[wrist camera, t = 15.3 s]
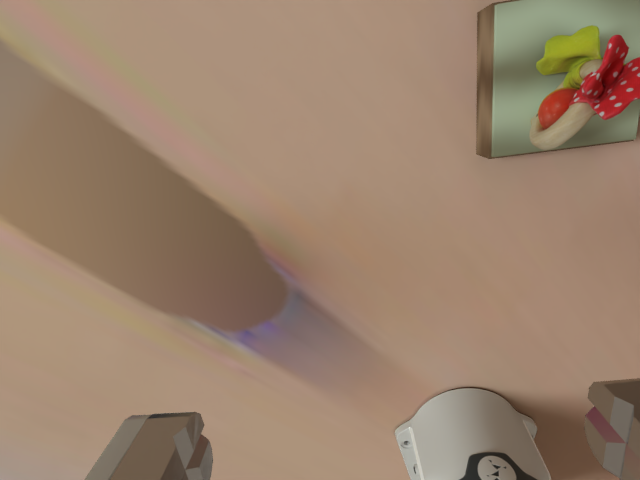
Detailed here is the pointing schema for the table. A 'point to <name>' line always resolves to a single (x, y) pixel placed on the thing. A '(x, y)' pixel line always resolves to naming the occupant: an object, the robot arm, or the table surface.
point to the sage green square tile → (528, 83)
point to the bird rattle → (583, 85)
